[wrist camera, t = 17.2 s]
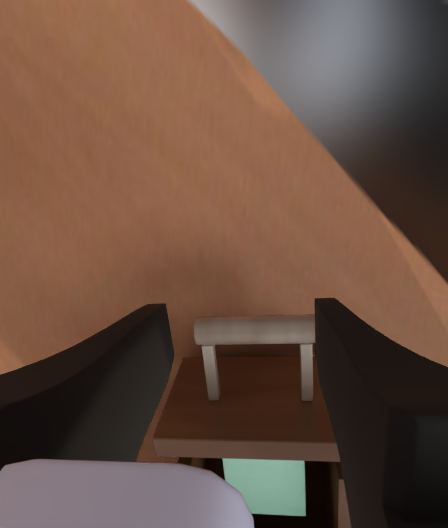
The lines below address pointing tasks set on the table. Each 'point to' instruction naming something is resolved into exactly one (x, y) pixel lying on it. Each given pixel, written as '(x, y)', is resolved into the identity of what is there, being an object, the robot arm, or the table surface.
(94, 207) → the table surface
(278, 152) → the table surface
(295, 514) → the note cube
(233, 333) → the drawer
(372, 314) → the table surface
